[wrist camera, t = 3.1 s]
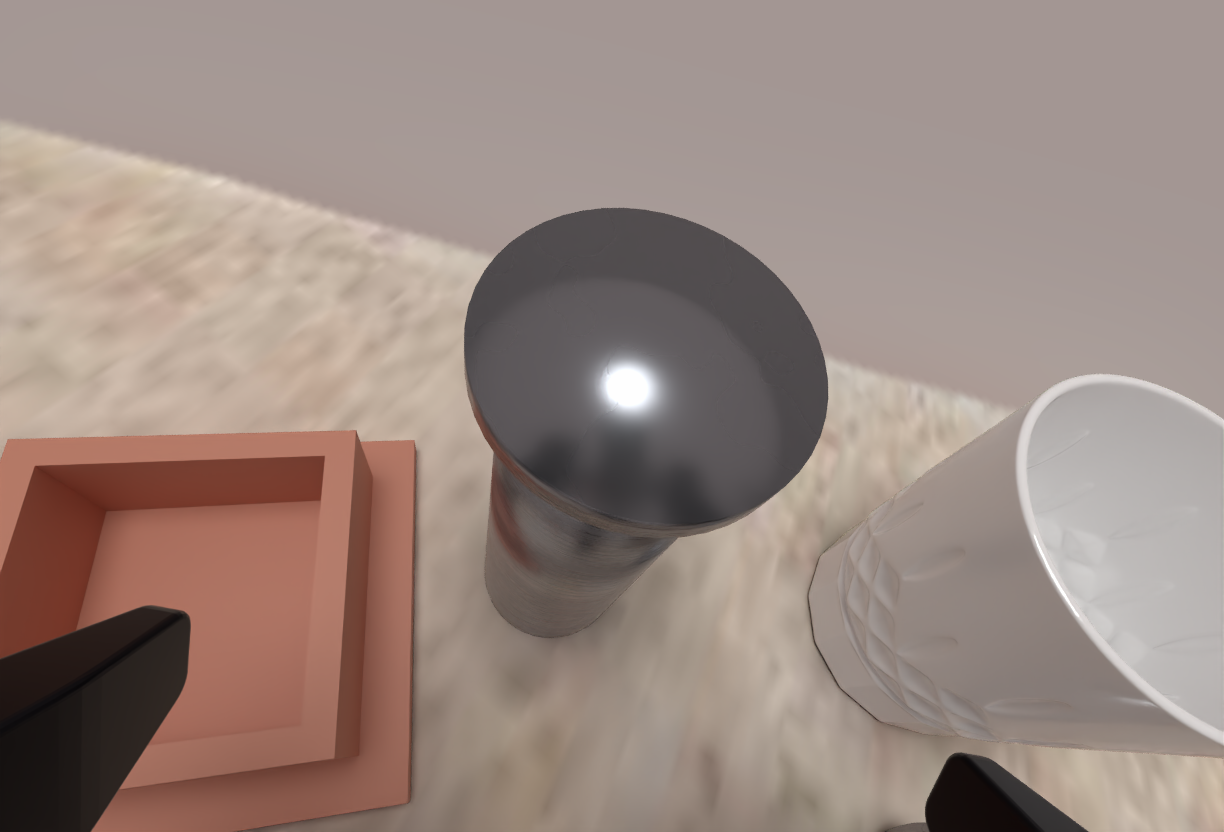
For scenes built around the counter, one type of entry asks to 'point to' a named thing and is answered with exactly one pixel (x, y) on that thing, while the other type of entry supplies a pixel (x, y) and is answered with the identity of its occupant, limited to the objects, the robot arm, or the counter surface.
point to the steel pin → (628, 402)
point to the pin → (911, 828)
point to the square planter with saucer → (233, 609)
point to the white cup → (1046, 581)
